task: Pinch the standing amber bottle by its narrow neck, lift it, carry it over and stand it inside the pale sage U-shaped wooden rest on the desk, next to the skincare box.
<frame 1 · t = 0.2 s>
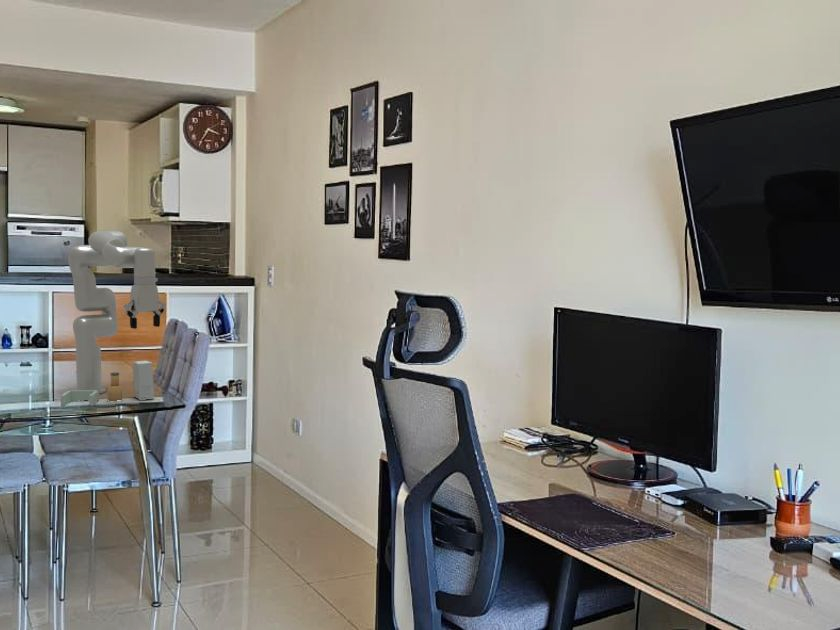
hand: (145, 327, 333), 31 cm above the table, tool pointing down, fingers open, 9 cm apart
u rest: (80, 403, 343), on the table
bottle: (115, 400, 350), on the table
skincare box: (143, 399, 355), on the table
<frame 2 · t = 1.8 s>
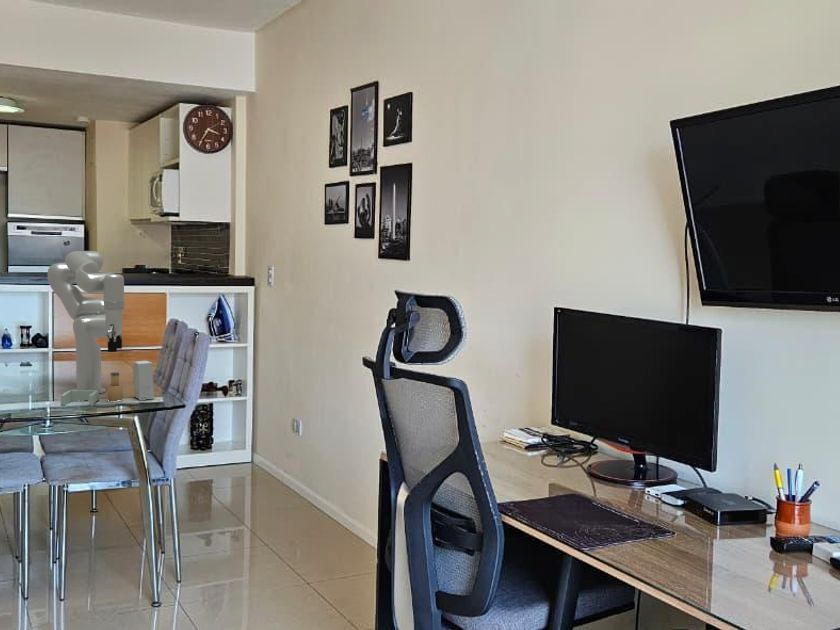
hand: (115, 350, 348), 20 cm above the table, tool pointing down, fingers open, 9 cm apart
nothing on the table moved.
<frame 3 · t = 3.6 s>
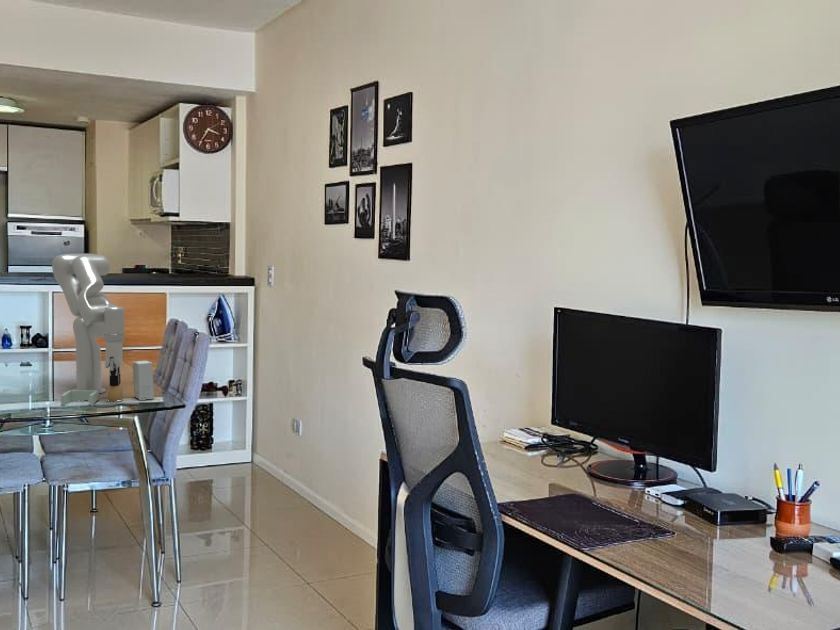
hand: (115, 384, 349), 6 cm above the table, tool pointing down, fingers closed on bottle, 3 cm apart
bottle: (115, 400, 350), on the table, touching gripper
everything else where it was.
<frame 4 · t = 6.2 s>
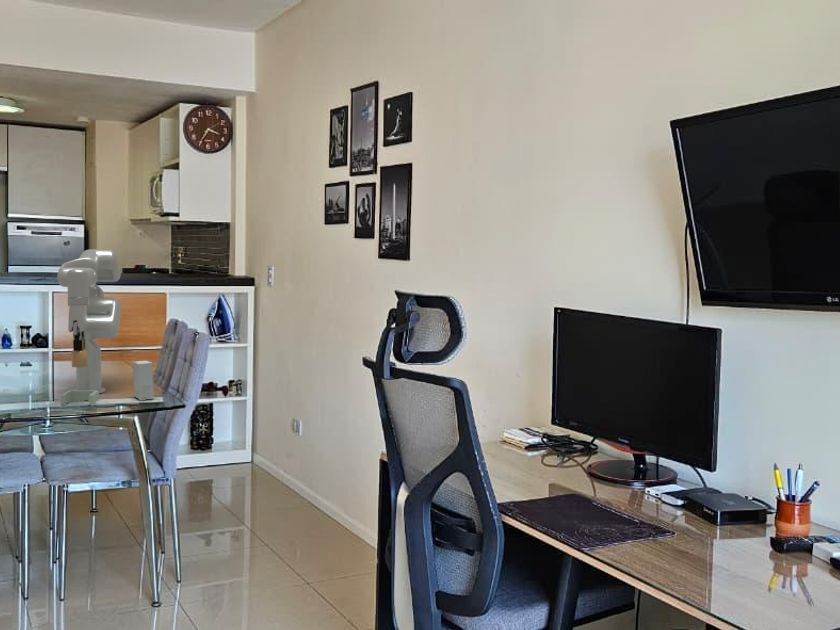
hand: (79, 349, 341), 21 cm above the table, tool pointing down, fingers closed on bottle, 3 cm apart
bottle: (79, 366, 342), point 14 cm above the table, touching gripper
everything else where it was.
when the fingers open (8 cm above the table, at t = 9.0 s): bottle drops 1 cm, on the table.
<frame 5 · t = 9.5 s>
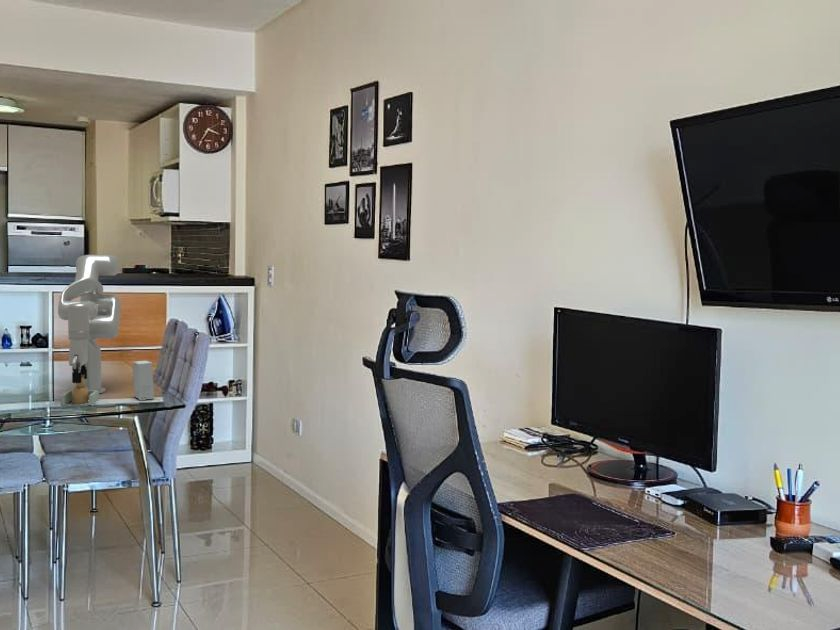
hand: (79, 380, 343), 9 cm above the table, tool pointing down, fingers open, 8 cm apart
bottle: (80, 403, 344), on the table
everything else where it was.
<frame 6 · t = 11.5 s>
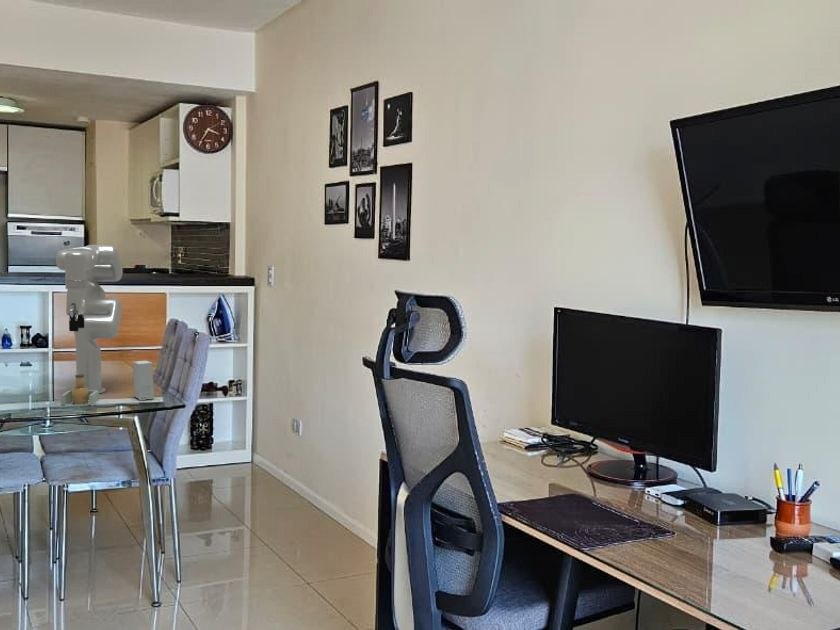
hand: (76, 329, 341), 28 cm above the table, tool pointing down, fingers open, 9 cm apart
nothing on the table moved.
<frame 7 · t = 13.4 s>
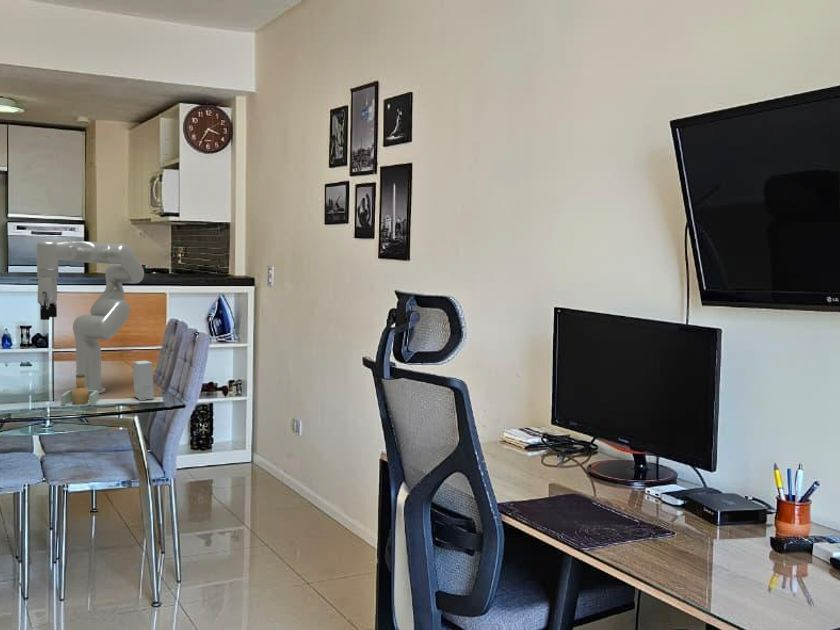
hand: (48, 318, 343), 32 cm above the table, tool pointing down, fingers open, 9 cm apart
nothing on the table moved.
at the end: bottle inside the target area on the u rest (0.7 cm from its centre), point 0.0 cm above the u rest's base; bottle tilted 1°; the gripper is holding nothing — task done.
